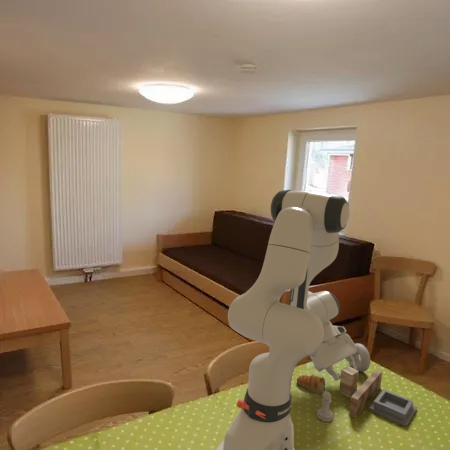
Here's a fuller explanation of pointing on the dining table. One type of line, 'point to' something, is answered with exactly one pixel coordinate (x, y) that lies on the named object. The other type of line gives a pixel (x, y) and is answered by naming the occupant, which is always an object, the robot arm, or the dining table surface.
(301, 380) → the pastry
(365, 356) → the donut
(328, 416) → the chess piece
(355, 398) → the door edge
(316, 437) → the dining table surface
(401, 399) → the seat block
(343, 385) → the block
